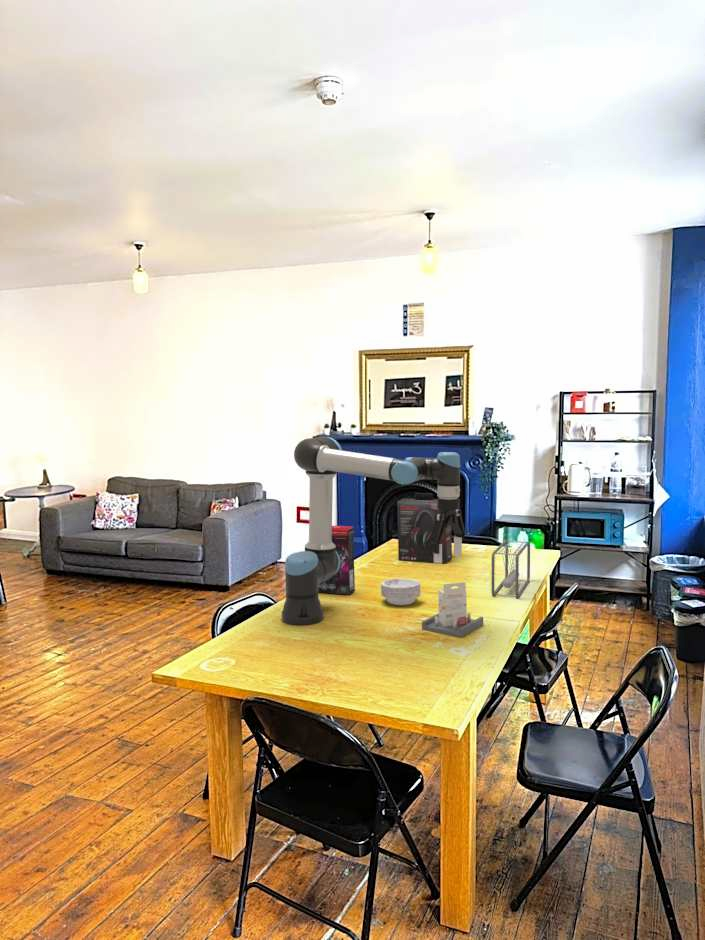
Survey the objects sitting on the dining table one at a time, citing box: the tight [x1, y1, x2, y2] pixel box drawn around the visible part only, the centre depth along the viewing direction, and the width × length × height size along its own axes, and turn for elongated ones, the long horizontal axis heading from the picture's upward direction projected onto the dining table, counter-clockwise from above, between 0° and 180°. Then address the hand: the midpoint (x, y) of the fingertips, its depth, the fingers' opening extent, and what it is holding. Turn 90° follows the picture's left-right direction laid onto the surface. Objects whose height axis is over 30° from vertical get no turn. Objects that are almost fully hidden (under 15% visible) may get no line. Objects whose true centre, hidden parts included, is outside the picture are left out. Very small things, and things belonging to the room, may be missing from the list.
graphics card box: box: [318, 525, 356, 596], centre depth 283 cm, size 17×7×27 cm, turn 71°
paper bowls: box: [380, 578, 421, 606], centre depth 268 cm, size 15×15×8 cm
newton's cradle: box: [491, 539, 531, 599], centre depth 285 cm, size 30×10×18 cm, turn 157°
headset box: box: [396, 492, 453, 564], centre depth 339 cm, size 25×12×33 cm, turn 68°
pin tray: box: [421, 612, 484, 639], centre depth 238 cm, size 16×15×4 cm
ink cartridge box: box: [438, 581, 468, 627], centre depth 237 cm, size 9×5×15 cm, turn 105°
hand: (447, 559), depth 238 cm, fingers open, 13 cm apart
